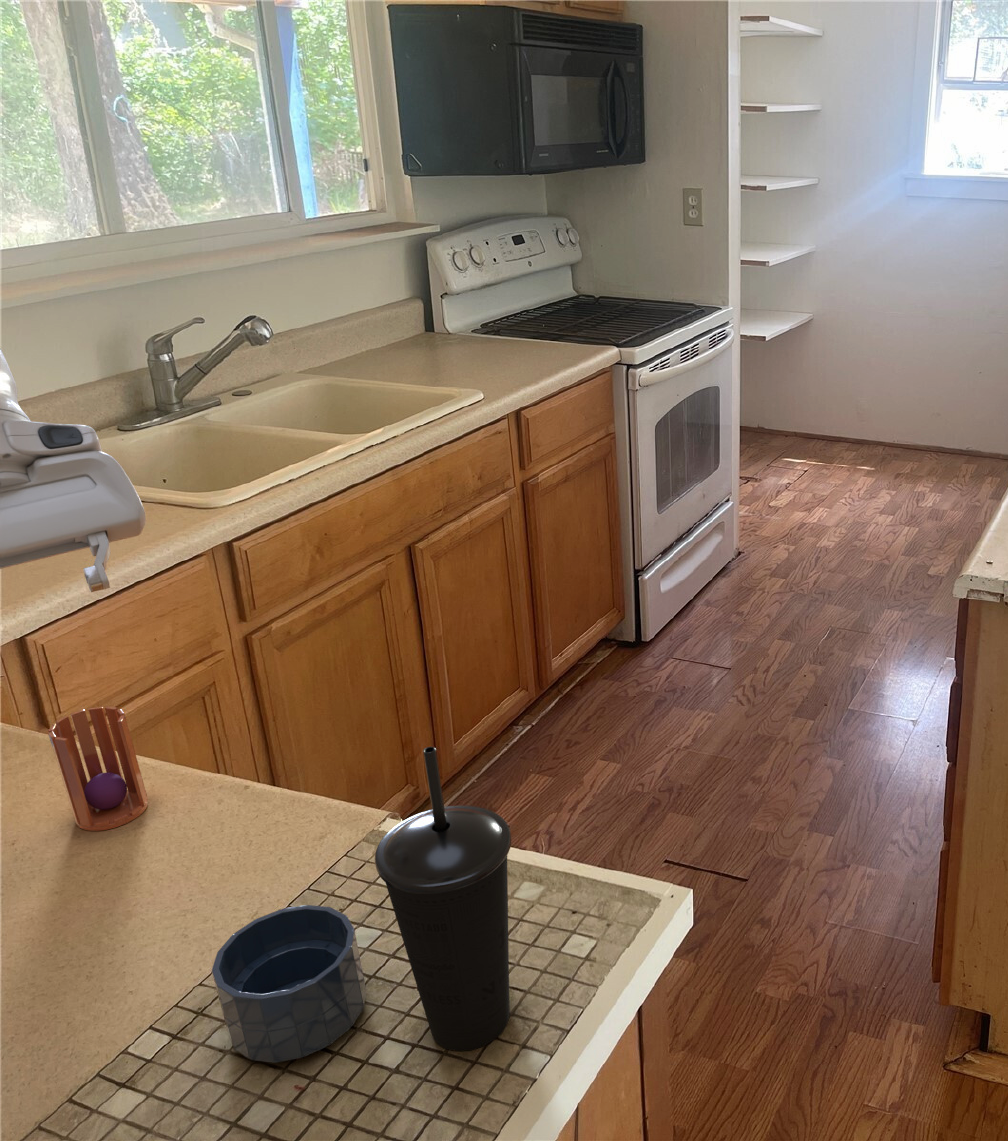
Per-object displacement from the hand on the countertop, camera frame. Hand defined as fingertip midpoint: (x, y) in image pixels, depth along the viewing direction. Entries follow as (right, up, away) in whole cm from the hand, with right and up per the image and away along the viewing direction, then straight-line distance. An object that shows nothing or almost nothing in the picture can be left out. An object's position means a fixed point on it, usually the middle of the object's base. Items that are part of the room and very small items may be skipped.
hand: (37, 604), depth 90 cm
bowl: (+32, -26, -22) cm, 46 cm away
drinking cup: (+43, -26, -23) cm, 55 cm away
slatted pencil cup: (+7, -17, -2) cm, 19 cm away
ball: (+7, -15, -2) cm, 17 cm away
